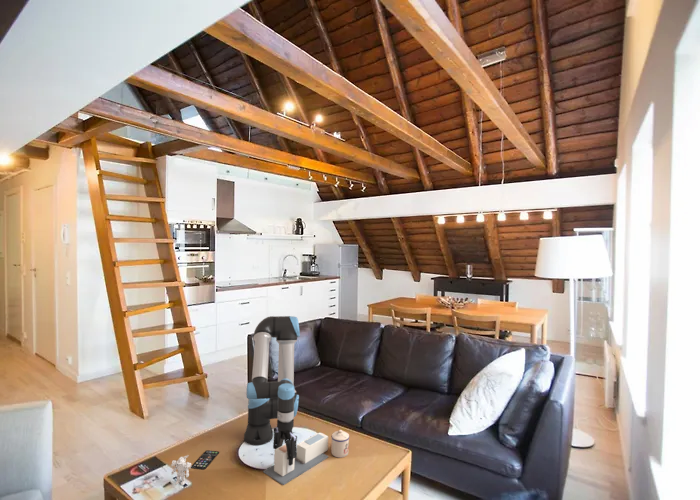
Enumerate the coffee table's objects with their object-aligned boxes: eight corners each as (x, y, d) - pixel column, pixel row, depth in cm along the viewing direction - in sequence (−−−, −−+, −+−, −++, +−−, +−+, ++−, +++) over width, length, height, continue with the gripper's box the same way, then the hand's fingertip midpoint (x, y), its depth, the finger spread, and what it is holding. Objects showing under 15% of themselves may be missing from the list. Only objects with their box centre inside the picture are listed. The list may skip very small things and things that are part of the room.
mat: (263, 472, 176) (263, 470, 176) (308, 446, 198) (308, 445, 198) (283, 485, 167) (283, 484, 167) (328, 457, 189) (328, 456, 189)
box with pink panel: (274, 470, 175) (274, 449, 175) (285, 464, 181) (286, 443, 180) (282, 476, 172) (283, 454, 171) (294, 469, 177) (294, 448, 177)
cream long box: (294, 459, 185) (294, 445, 185) (319, 445, 199) (319, 431, 198) (303, 464, 181) (303, 449, 181) (327, 449, 195) (328, 435, 195)
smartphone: (220, 451, 191) (204, 469, 176) (220, 452, 191) (204, 470, 176) (206, 450, 192) (189, 467, 177) (206, 451, 192) (189, 468, 177)
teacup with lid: (347, 459, 188) (347, 436, 188) (329, 456, 190) (329, 433, 189) (351, 446, 200) (351, 424, 200) (334, 444, 201) (334, 422, 201)
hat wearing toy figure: (192, 481, 168) (193, 454, 167) (187, 487, 164) (187, 459, 163) (173, 478, 169) (174, 452, 169) (168, 484, 165) (168, 457, 165)
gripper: (265, 415, 178) (264, 463, 179) (293, 428, 167) (292, 480, 167) (278, 409, 184) (277, 456, 185) (305, 422, 172) (304, 472, 173)
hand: (284, 468), depth 176 cm, fingers closed on box with pink panel, 6 cm apart
